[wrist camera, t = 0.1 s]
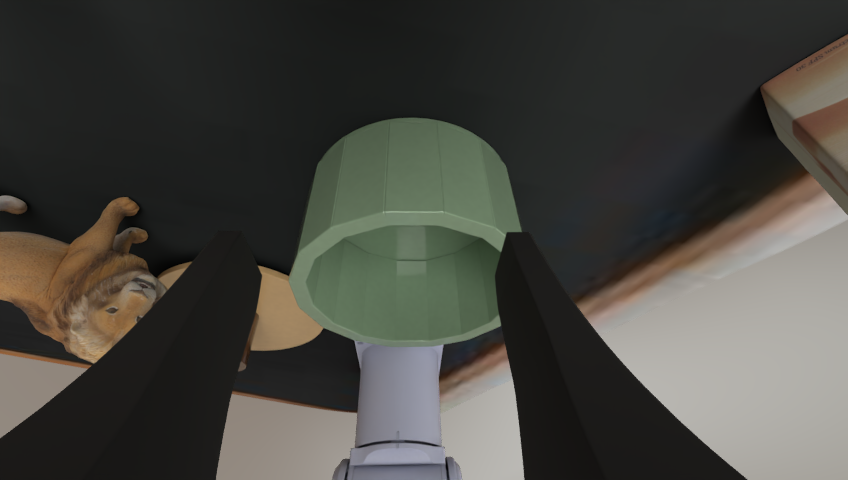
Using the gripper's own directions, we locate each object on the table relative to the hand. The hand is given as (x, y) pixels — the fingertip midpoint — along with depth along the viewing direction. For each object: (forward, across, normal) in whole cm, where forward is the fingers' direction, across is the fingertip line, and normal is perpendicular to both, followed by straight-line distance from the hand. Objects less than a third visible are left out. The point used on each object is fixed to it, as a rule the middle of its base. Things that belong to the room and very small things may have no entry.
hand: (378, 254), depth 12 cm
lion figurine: (+10, +18, +8) cm, 22 cm away
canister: (+10, -1, +8) cm, 13 cm away
